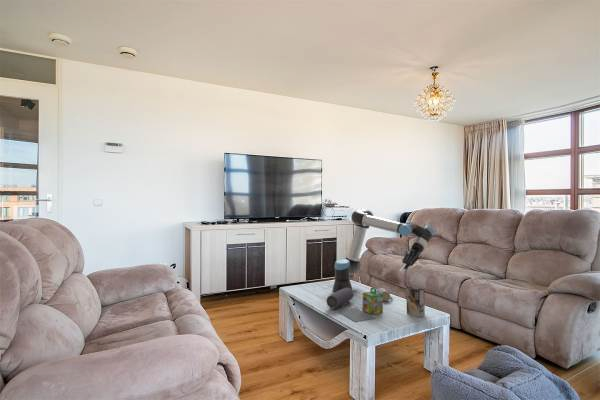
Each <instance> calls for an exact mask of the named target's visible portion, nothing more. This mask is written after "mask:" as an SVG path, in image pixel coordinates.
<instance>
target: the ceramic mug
mask: <svg viewBox="0 0 600 400" xmlns="http://www.w3.org/2000/svg"><path fill="white" fill-rule="evenodd" d="M376 292H378V293H381V294H382V295H383V302H387V301H389V300H391V301H392V300H393V296H391V294H390V292H389V291H388V290H387V289H385V288H383V287H378V288H376Z"/></svg>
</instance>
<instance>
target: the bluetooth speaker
mask: <svg viewBox="0 0 600 400" xmlns="http://www.w3.org/2000/svg"><path fill="white" fill-rule="evenodd" d="M353 298H354V292H353V289H352V290H351V289H350V288H343V289H341V290H339V291H337V292H333V293H331V294H330V295H329V296H328V297H327V298H326V305H327V306H328V307H329V308H331V309H337V308H338V309H339V308H342V307H343V306H345V305H346V304H347V303H348V302H349V301H351V300H352V299H353Z"/></svg>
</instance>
